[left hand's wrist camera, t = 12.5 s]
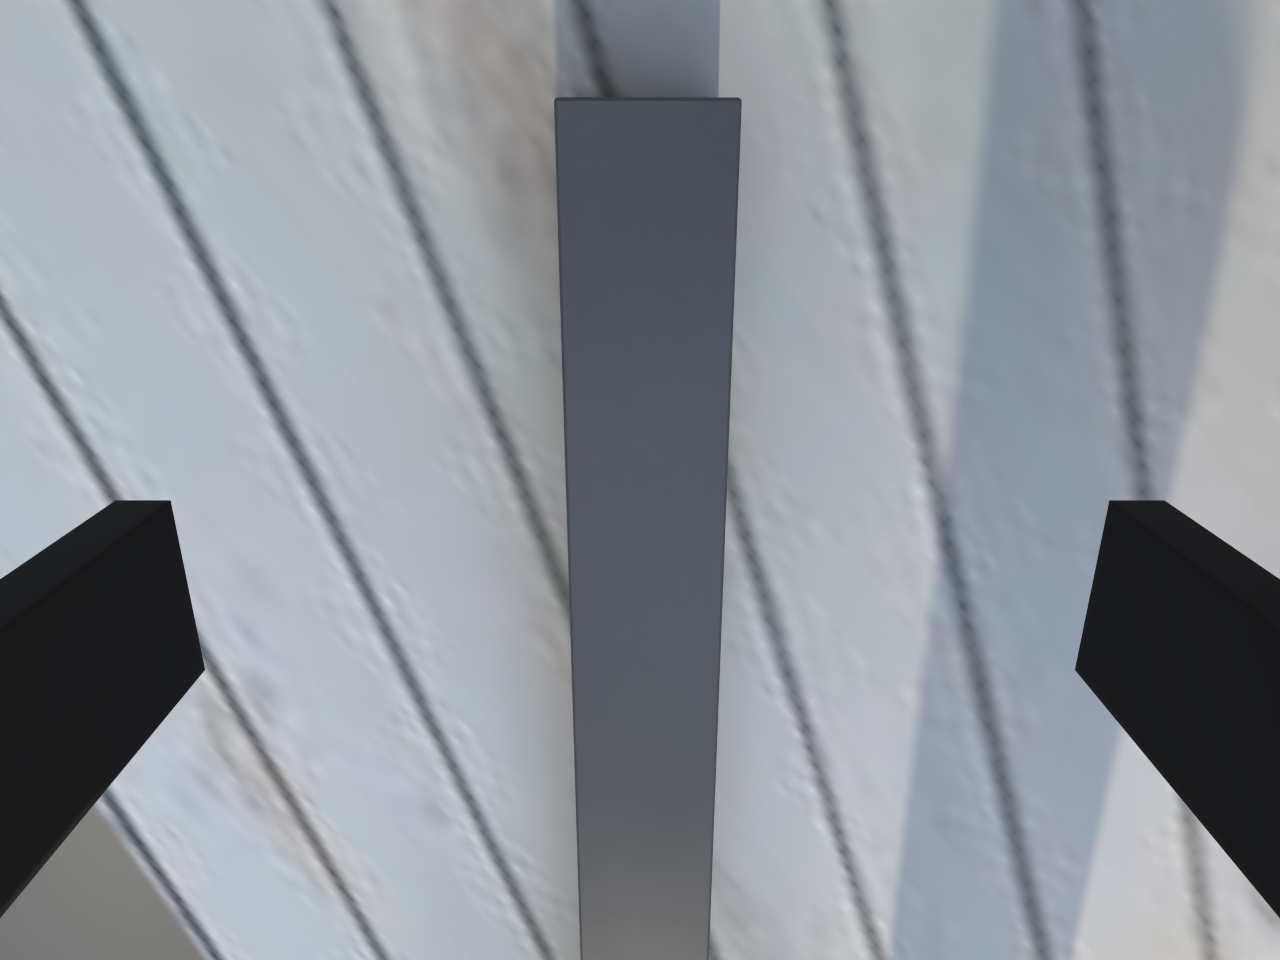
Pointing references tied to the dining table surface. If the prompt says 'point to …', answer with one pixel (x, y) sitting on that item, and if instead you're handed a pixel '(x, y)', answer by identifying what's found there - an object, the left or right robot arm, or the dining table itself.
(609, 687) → the beam
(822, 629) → the dining table surface
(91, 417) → the dining table surface
